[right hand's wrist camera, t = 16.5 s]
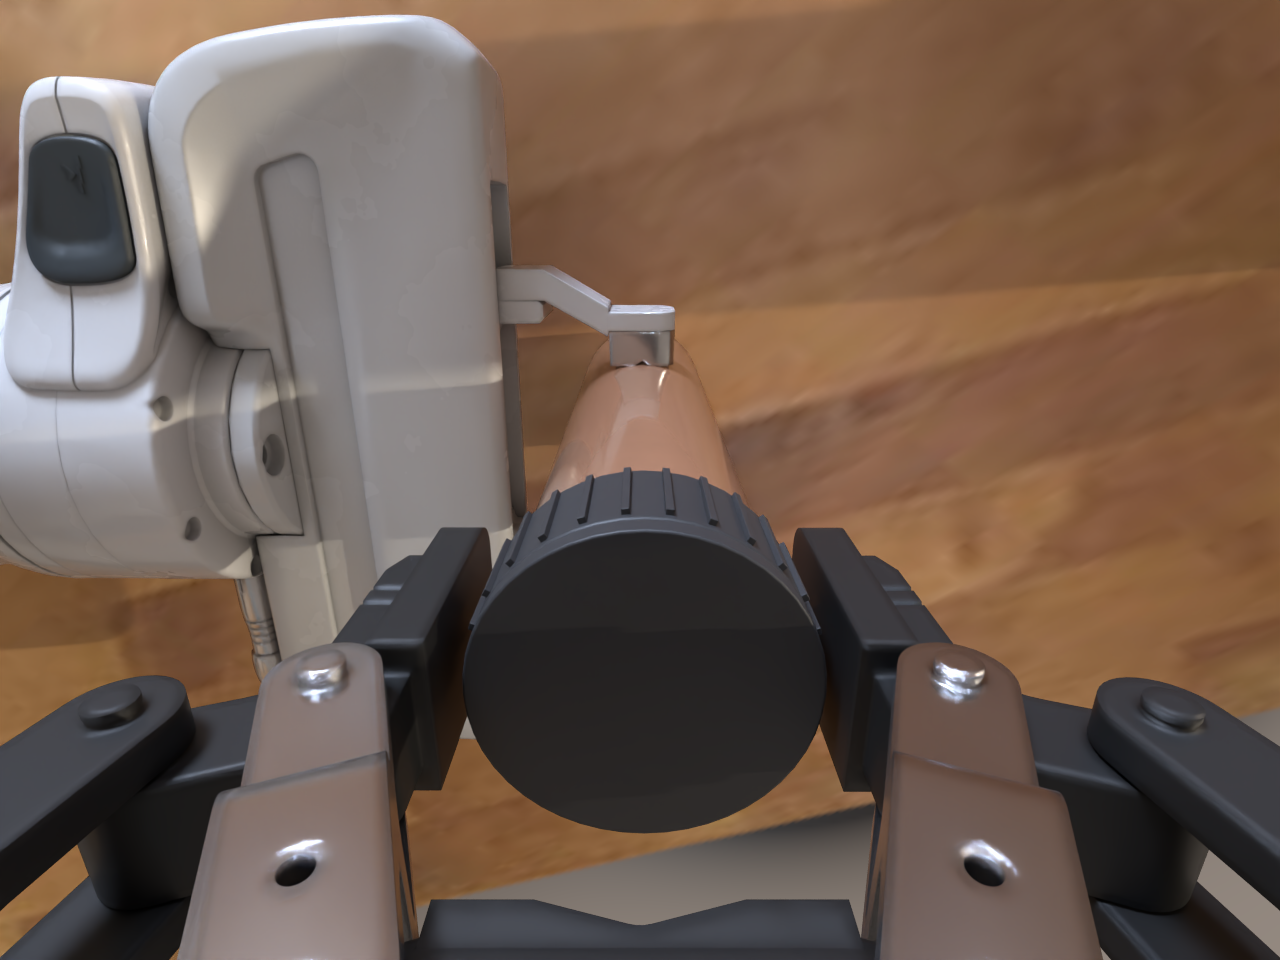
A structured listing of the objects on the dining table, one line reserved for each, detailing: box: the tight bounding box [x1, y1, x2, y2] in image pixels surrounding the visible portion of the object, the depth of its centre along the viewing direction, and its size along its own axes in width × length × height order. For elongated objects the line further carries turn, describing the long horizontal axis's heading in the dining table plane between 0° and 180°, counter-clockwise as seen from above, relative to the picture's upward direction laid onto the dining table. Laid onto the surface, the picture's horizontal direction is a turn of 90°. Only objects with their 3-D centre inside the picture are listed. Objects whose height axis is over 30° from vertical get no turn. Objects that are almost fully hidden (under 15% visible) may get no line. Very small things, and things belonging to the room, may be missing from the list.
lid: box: [462, 467, 827, 833], centre depth 10 cm, size 5×5×2 cm
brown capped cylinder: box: [536, 339, 750, 510], centre depth 18 cm, size 4×4×18 cm
